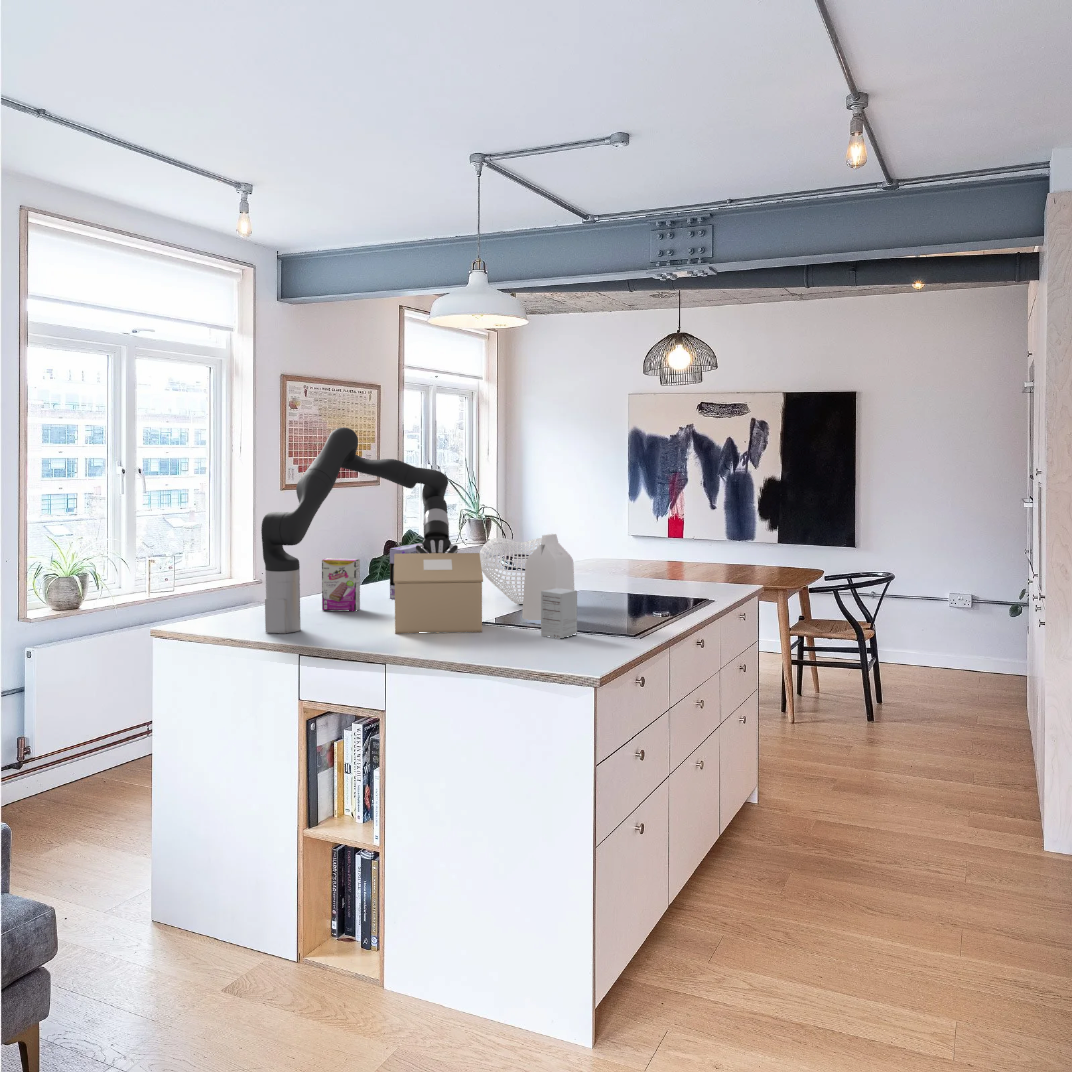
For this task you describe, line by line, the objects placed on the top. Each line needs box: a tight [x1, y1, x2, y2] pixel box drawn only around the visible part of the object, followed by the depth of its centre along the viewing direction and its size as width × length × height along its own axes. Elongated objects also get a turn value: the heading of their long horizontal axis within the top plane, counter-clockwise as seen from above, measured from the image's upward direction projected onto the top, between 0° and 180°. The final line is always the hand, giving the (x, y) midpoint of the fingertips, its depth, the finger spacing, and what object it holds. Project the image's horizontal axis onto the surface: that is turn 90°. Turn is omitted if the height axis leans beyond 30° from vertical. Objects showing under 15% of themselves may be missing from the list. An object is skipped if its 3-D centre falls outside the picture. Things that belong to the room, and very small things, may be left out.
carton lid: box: [394, 552, 484, 583], centre depth 270 cm, size 16×25×1 cm, turn 98°
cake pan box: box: [389, 542, 428, 600], centre depth 331 cm, size 19×5×18 cm, turn 154°
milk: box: [521, 533, 575, 620], centre depth 282 cm, size 12×12×26 cm
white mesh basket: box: [479, 537, 542, 605], centre depth 312 cm, size 28×16×22 cm, turn 90°
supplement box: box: [540, 588, 578, 639], centre depth 261 cm, size 7×7×13 cm
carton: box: [394, 582, 483, 635], centre depth 271 cm, size 16×24×14 cm, turn 97°
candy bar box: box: [321, 557, 361, 612], centre depth 301 cm, size 11×5×16 cm, turn 84°
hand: (437, 572), depth 275 cm, fingers closed
